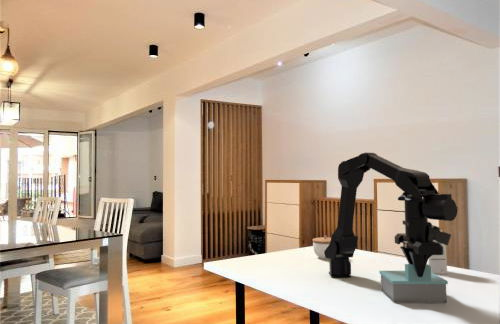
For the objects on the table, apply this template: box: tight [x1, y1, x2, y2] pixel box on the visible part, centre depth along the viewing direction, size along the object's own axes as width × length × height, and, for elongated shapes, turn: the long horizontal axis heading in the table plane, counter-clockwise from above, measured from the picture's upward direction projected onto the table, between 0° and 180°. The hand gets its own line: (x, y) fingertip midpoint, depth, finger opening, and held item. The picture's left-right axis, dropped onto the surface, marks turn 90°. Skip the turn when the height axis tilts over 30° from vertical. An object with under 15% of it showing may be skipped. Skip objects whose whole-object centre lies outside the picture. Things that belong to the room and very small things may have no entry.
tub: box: [380, 274, 448, 304], centre depth 108 cm, size 14×11×5 cm
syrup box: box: [427, 230, 448, 275], centre depth 135 cm, size 6×6×14 cm
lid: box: [378, 263, 449, 285], centre depth 108 cm, size 15×12×6 cm
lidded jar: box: [312, 234, 331, 260], centre depth 162 cm, size 11×11×9 cm
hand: (417, 275), depth 104 cm, fingers open, 3 cm apart
